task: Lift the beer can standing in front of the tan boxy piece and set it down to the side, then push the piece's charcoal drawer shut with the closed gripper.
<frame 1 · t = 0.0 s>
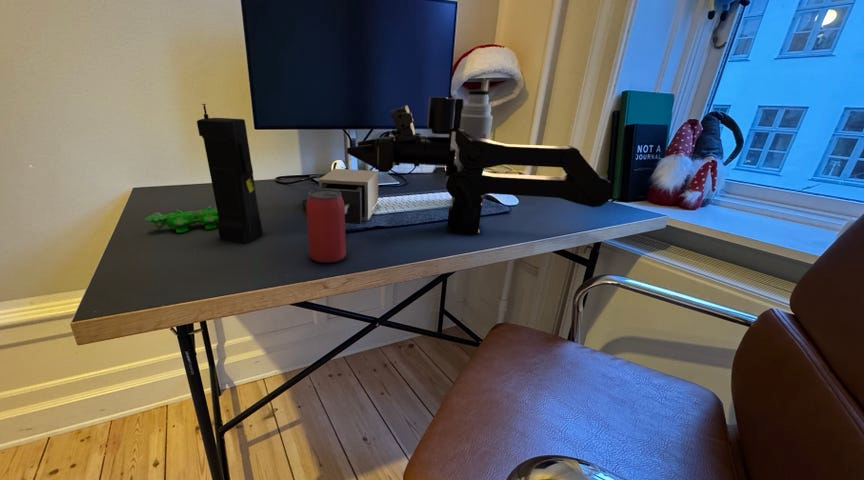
hand: (352, 147, 79), 17 cm above the table, tool horizontal, fingers open, 9 cm apart
drawer: (341, 202, 84), point 5 cm above the table, slide at 4.0 cm
portable radio: (244, 237, 76), on the table
tan boxy piece: (350, 211, 93), on the table
crocodile figurine: (196, 227, 80), on the table
thermos bottle: (465, 203, 102), on the table
beer can: (328, 258, 68), on the table
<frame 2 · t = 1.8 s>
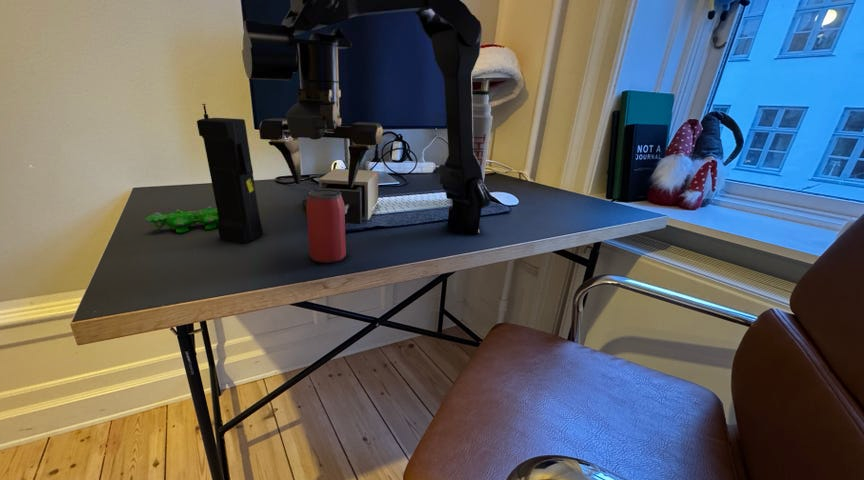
hand: (324, 185, 62), 13 cm above the table, tool pointing down, fingers open, 9 cm apart
nothing on the table moved.
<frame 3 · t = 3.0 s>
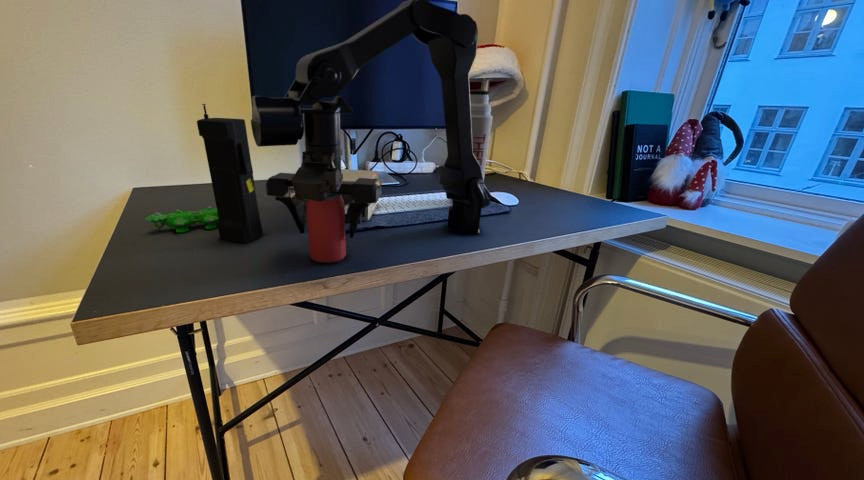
hand: (326, 235, 66), 4 cm above the table, tool pointing down
beer can: (328, 258, 68), on the table, touching gripper
everything else where it was.
when the fingers open (5 cm above the table, at t = 8.7 s): beer can stays where it is, on the table.
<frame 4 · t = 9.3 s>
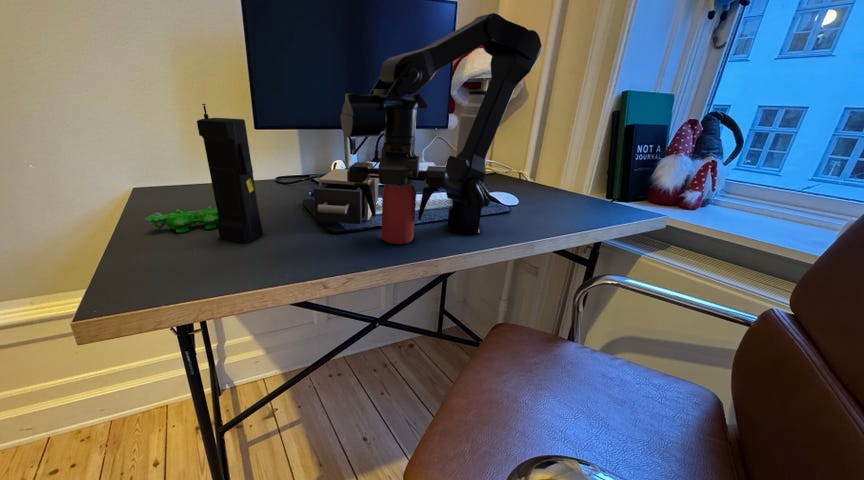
hand: (396, 217, 73), 5 cm above the table, tool pointing down, fingers open, 9 cm apart
beer can: (397, 240, 76), on the table
everything else where it was.
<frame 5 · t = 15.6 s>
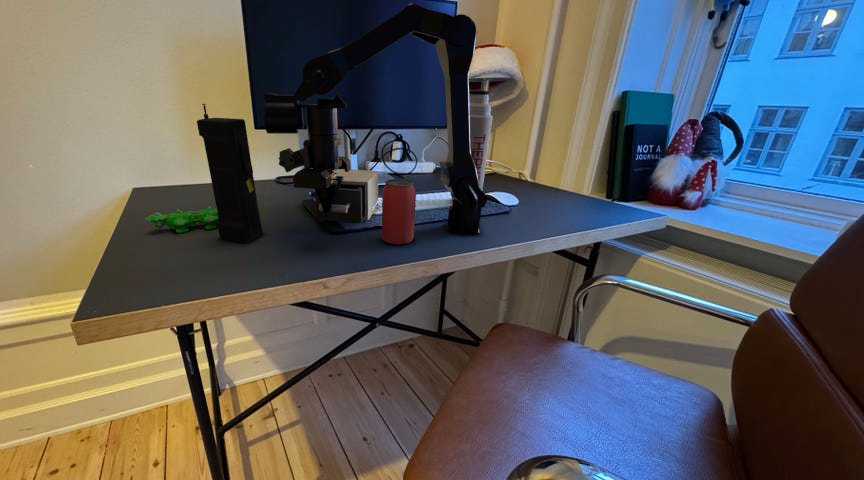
hand: (327, 212, 77), 4 cm above the table, tool pointing down, fingers closed
drawer: (342, 201, 84), point 5 cm above the table, slide at 3.3 cm, touching gripper
everything else where it was.
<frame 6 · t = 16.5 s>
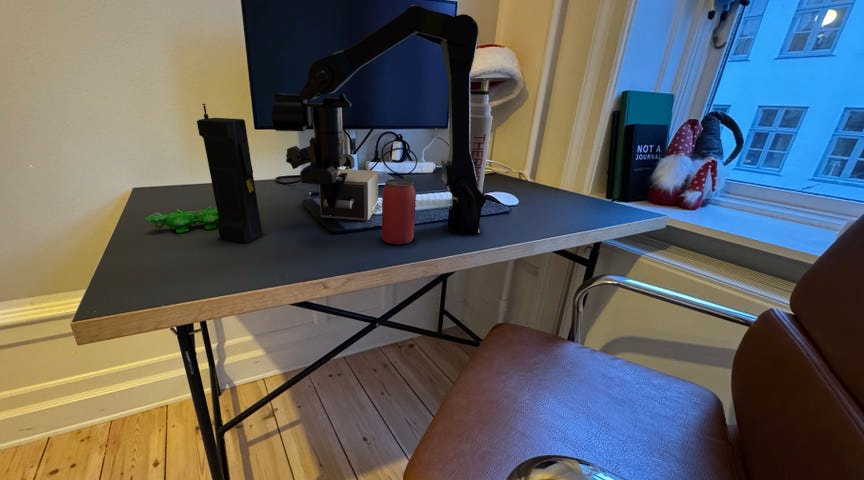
hand: (331, 208, 80), 4 cm above the table, tool pointing down, fingers closed
drawer: (346, 197, 87), point 5 cm above the table, slide at 0.0 cm, touching tan boxy piece, gripper
everything else where it was.
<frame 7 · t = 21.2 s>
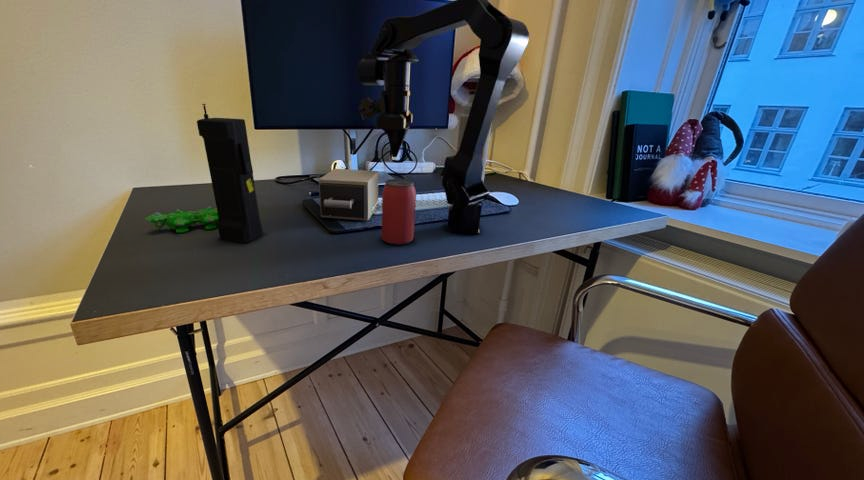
hand: (394, 156, 90), 13 cm above the table, tool pointing down, fingers closed
drawer: (346, 197, 87), point 5 cm above the table, slide at 0.0 cm, touching tan boxy piece
everything else where it was.
at the end: drawer slide at 0.0 cm; beer can inside the target area (0.4 cm from its centre), on the table; beer can tilted 0° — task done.
